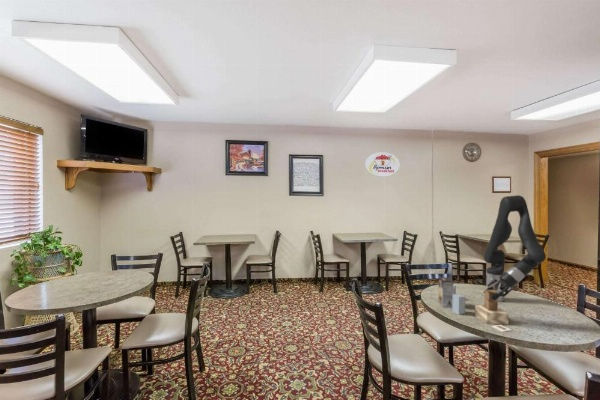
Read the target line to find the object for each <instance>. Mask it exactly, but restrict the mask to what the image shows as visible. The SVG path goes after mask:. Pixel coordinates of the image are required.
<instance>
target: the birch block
mask: <svg viewBox="0 0 600 400" xmlns="http://www.w3.org/2000/svg"><path fill="white" fill-rule="evenodd" d="M474 316H475V317H477V318H478V319H479V320H480V321H483V322H484V323H485V324H489V325H490V324H491V325H509V313H508V312H507V311H504V310H503V309H501V308H499V307H498V311H491V310H487V309H486V308H485V307H484V304H483V305H482V304H480V305H478V304H475V305H474Z"/></svg>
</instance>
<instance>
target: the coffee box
mask: <svg viewBox="0 0 600 400" xmlns="http://www.w3.org/2000/svg"><path fill="white" fill-rule="evenodd" d="M453 285H454V281H453V280H452V279H451V278H450V277H444V276H443V277H441V276H440V277H438V300H437V301H438V304H440V306H441V307H442V308H449V309H451V308H452V304H453Z"/></svg>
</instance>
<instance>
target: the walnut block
mask: <svg viewBox="0 0 600 400" xmlns="http://www.w3.org/2000/svg"><path fill="white" fill-rule="evenodd" d="M484 291H485V294H484V300H483V301H484V303H483V305H484V307H485V308H486V309H487V310H491V311H498V308H499V307H498V306H499V303H498V298H497V299H496V300H493V299H492V298H491V297H492V296H493V295H494V294H495V293H497V292H496V291H494V290H486V289H484Z"/></svg>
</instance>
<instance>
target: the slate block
mask: <svg viewBox="0 0 600 400" xmlns="http://www.w3.org/2000/svg"><path fill="white" fill-rule="evenodd" d="M451 311H452V312H453V313H454V314H457V315H459V316H460V315H465V313H466V296H465V295H462V294H459V293H456V294H454V295H453V304H452V310H451Z"/></svg>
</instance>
